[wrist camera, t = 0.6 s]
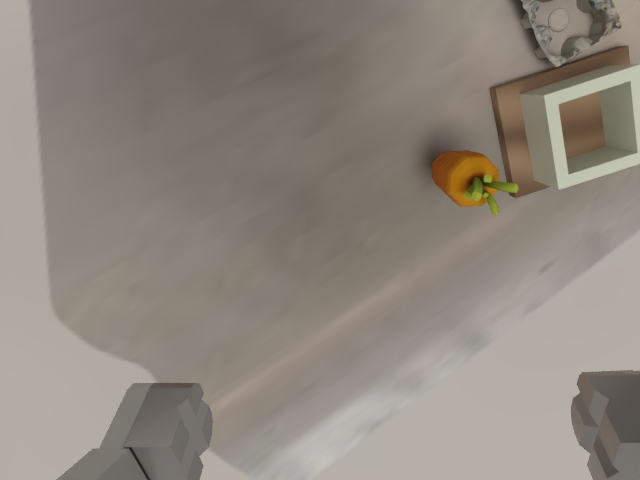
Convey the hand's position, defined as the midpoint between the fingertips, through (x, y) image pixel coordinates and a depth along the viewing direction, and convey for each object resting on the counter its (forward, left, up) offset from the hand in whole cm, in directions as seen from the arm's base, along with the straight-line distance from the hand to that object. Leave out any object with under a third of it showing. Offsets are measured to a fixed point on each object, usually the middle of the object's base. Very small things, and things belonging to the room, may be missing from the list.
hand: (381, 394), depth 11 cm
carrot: (+6, +14, -44) cm, 46 cm away
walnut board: (+6, +28, -43) cm, 52 cm away
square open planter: (+6, +28, -42) cm, 50 cm away
